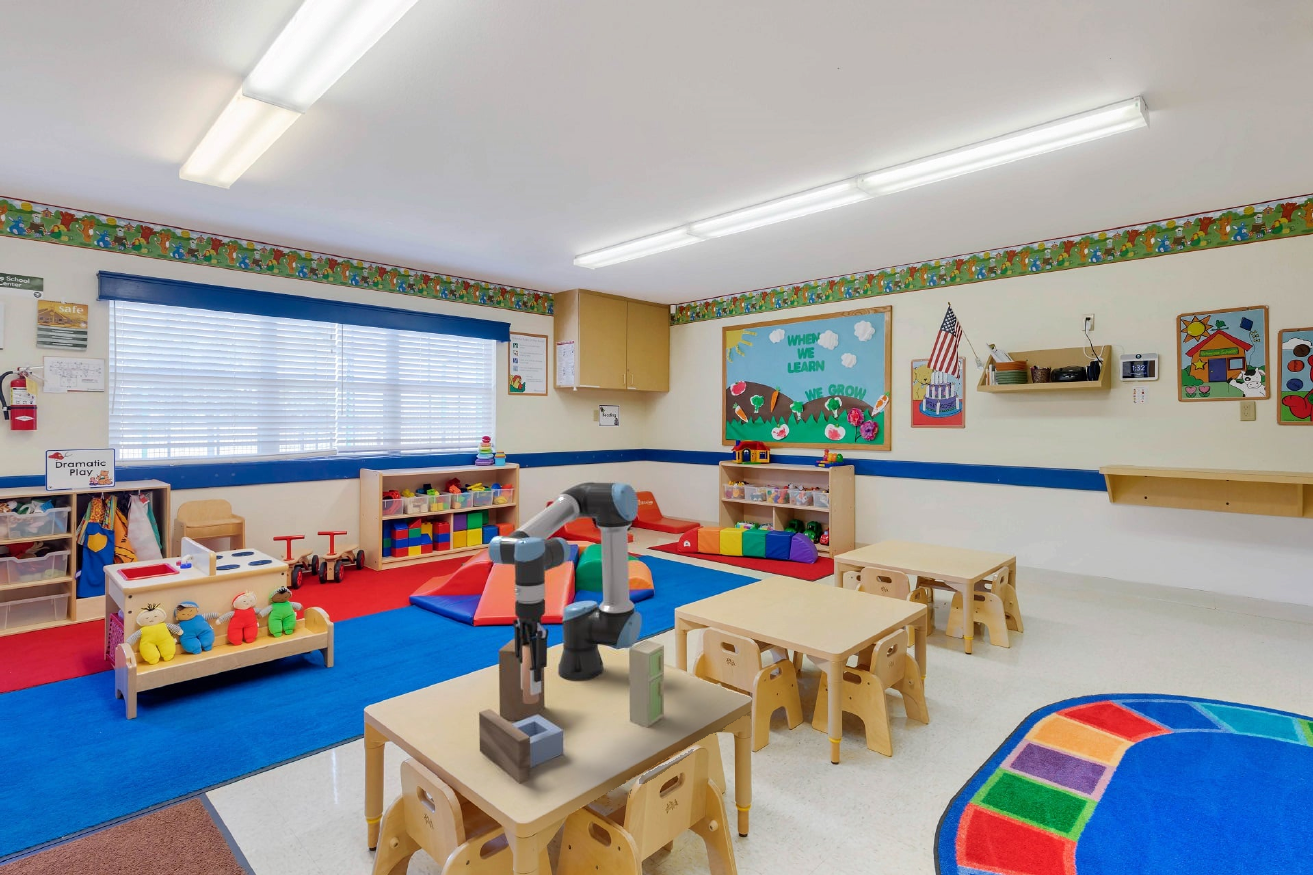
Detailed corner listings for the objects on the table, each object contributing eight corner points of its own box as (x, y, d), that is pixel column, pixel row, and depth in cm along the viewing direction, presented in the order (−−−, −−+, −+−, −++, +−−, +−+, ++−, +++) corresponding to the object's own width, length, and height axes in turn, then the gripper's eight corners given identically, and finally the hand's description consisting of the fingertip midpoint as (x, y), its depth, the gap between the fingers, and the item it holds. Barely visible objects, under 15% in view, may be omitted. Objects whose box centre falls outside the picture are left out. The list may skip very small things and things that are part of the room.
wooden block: (531, 722, 178) (531, 652, 177) (499, 719, 180) (498, 649, 179) (545, 706, 187) (544, 640, 187) (513, 703, 189) (513, 637, 189)
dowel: (533, 695, 164) (533, 642, 163) (541, 700, 161) (541, 646, 161) (520, 700, 161) (519, 646, 161) (528, 705, 158) (527, 650, 158)
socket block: (538, 736, 170) (538, 714, 170) (563, 753, 161) (563, 730, 161) (497, 752, 162) (497, 729, 161) (521, 771, 153) (521, 746, 153)
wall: (490, 746, 165) (489, 708, 164) (530, 778, 150) (530, 736, 150) (479, 750, 163) (479, 712, 162) (519, 783, 148) (518, 741, 148)
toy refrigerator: (649, 728, 174) (649, 653, 173) (629, 721, 178) (628, 647, 177) (666, 717, 180) (666, 645, 179) (646, 710, 184) (646, 639, 184)
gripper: (500, 595, 164) (501, 684, 165) (535, 609, 152) (535, 705, 152) (525, 590, 169) (526, 676, 170) (561, 603, 157) (562, 696, 157)
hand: (530, 690), depth 161 cm, fingers closed on dowel, 4 cm apart
